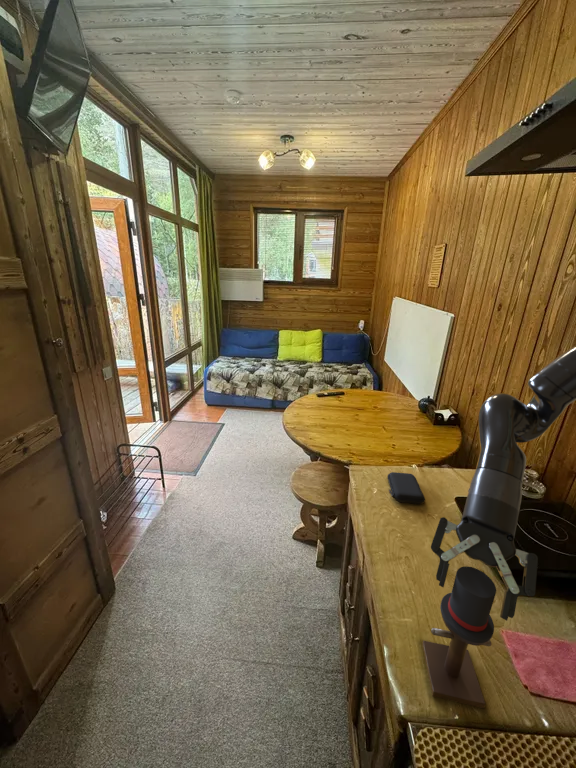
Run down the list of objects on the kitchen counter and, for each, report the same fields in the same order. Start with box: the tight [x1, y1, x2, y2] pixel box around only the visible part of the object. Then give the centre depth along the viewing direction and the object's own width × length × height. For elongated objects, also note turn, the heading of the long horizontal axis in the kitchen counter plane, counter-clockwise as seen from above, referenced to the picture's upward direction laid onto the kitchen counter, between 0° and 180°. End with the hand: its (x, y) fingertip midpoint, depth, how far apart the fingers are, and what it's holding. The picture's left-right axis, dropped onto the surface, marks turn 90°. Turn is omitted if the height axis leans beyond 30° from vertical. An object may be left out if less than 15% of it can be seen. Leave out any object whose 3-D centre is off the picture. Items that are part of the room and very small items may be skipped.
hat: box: [439, 565, 497, 643], centre depth 49 cm, size 8×8×8 cm
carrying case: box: [387, 471, 426, 505], centre depth 103 cm, size 11×3×15 cm
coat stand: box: [421, 615, 492, 709], centre depth 53 cm, size 9×8×14 cm
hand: (471, 602), depth 48 cm, fingers open, 8 cm apart
